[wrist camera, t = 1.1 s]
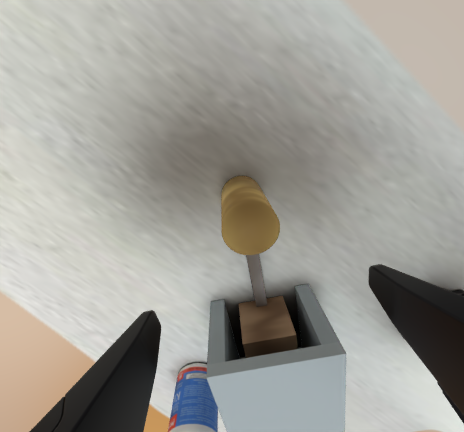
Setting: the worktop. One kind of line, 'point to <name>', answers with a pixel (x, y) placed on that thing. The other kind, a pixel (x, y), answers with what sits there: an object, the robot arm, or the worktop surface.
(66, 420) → the robot arm
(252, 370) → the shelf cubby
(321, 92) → the worktop surface
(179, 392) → the pill bottle
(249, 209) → the block
